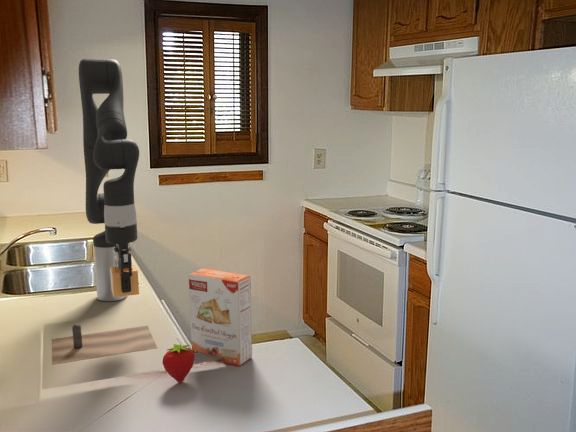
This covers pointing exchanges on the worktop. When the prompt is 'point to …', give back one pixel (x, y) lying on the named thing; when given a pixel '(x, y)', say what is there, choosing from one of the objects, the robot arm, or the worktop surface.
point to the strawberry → (178, 361)
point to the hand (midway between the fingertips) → (124, 287)
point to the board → (100, 344)
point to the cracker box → (221, 315)
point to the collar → (117, 282)
